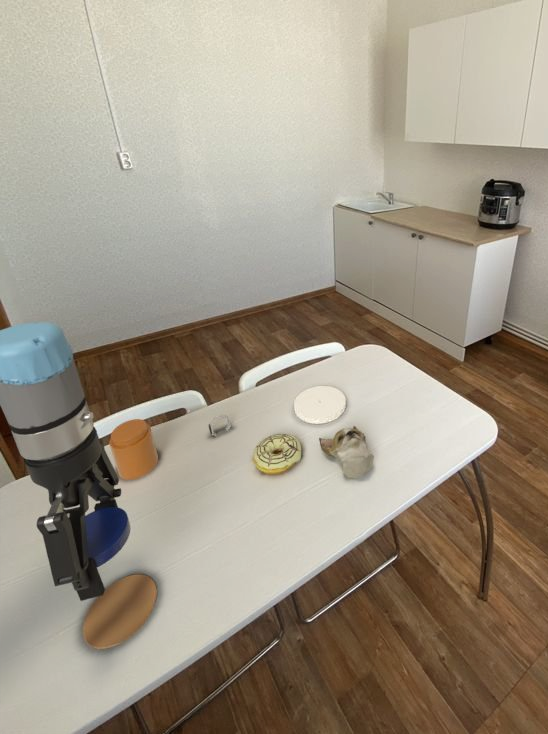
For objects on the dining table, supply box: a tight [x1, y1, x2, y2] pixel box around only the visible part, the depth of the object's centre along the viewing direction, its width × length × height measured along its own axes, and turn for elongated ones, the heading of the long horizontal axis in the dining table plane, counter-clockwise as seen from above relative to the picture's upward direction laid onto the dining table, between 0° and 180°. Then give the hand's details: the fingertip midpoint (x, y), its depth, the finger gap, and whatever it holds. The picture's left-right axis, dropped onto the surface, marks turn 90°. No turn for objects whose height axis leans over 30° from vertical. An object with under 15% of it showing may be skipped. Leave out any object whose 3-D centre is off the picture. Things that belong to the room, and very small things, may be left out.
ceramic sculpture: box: [318, 425, 375, 479], centre depth 87 cm, size 11×9×15 cm
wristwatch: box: [208, 414, 232, 437], centre depth 96 cm, size 3×5×5 cm, turn 127°
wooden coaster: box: [82, 573, 158, 650], centre depth 60 cm, size 10×10×1 cm
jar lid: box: [85, 506, 132, 568], centre depth 55 cm, size 8×8×2 cm
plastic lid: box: [293, 385, 347, 425], centre depth 104 cm, size 14×14×2 cm
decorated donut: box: [252, 433, 302, 476], centre depth 88 cm, size 10×11×4 cm
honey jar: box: [108, 418, 159, 481], centre depth 85 cm, size 8×8×11 cm
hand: (104, 562), depth 56 cm, fingers closed on jar lid, 8 cm apart
